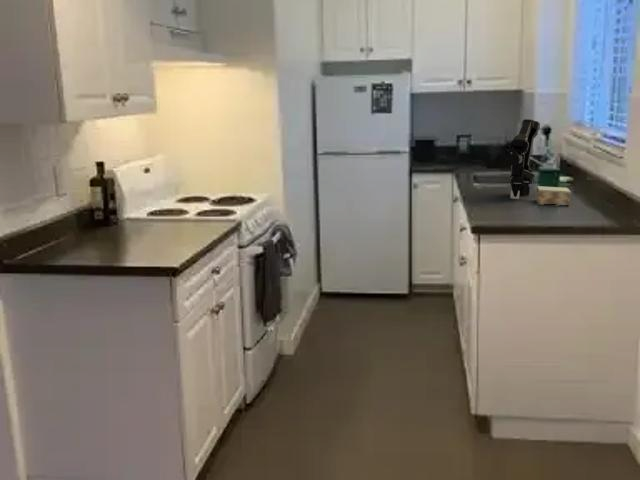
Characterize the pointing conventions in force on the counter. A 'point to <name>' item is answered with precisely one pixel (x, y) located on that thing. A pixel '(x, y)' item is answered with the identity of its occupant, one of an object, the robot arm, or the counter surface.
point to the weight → (513, 195)
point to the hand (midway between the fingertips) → (514, 195)
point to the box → (552, 197)
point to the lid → (553, 189)
